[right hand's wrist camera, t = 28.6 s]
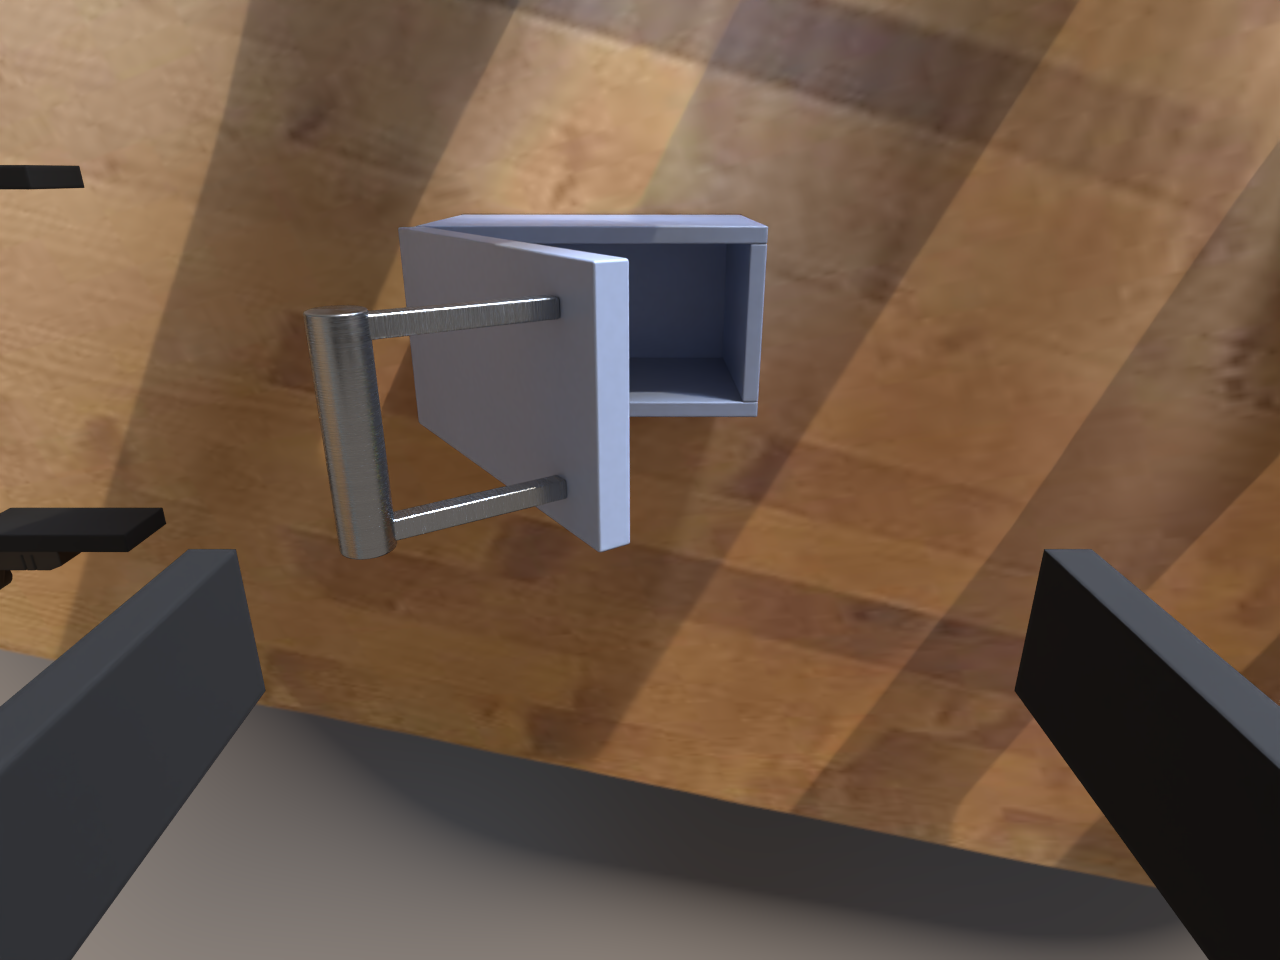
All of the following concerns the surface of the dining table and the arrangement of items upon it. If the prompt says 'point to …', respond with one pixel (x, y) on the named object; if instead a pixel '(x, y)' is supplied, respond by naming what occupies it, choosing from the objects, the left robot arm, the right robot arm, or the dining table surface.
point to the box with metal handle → (486, 387)
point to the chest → (670, 299)
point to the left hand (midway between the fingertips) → (106, 367)
